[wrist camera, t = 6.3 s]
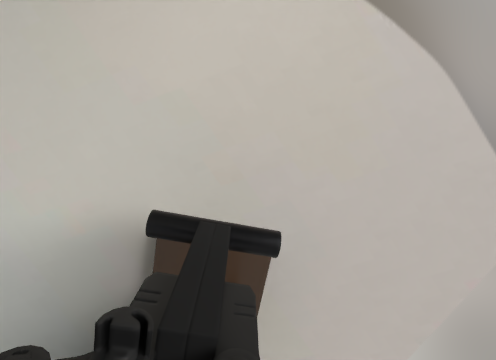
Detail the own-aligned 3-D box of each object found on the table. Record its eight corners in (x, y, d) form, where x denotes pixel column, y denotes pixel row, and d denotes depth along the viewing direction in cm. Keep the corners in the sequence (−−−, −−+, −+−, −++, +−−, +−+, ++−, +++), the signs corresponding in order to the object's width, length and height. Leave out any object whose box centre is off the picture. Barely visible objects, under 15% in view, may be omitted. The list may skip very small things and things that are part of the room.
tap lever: (158, 212, 16) (147, 206, 14) (275, 232, 16) (284, 230, 14) (92, 487, 13) (64, 541, 11) (238, 503, 13) (242, 559, 11)
